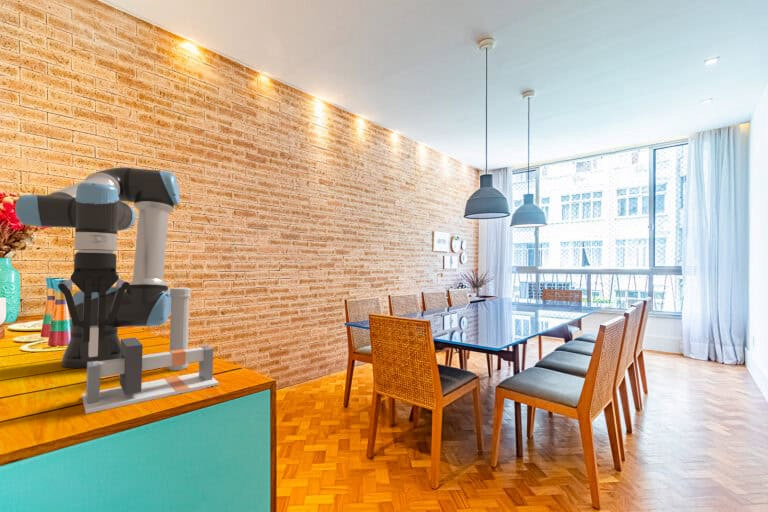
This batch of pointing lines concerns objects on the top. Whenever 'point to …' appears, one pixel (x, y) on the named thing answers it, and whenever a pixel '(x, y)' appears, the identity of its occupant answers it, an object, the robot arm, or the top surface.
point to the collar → (131, 365)
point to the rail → (152, 389)
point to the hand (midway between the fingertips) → (93, 355)
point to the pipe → (179, 321)
